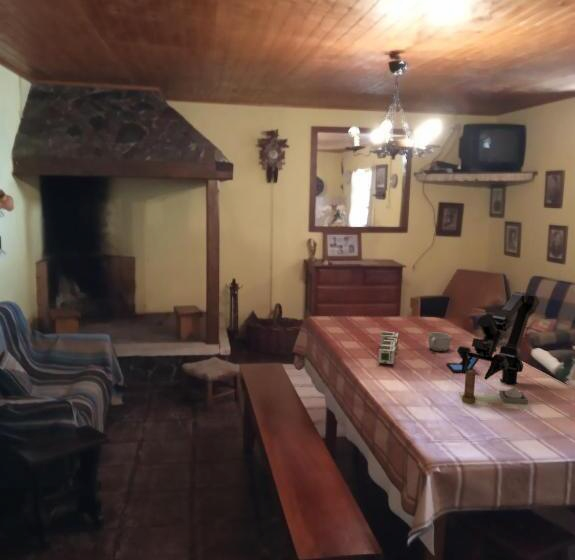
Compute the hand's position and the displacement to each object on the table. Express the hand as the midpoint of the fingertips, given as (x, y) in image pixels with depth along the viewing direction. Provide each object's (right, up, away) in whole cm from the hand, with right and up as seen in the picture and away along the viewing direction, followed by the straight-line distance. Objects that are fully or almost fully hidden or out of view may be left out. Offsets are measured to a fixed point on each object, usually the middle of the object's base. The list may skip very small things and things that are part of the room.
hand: (473, 375), depth 211 cm
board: (+8, -10, +1) cm, 13 cm away
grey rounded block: (+5, +1, +70) cm, 70 cm away
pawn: (-2, -9, 0) cm, 10 cm away
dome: (+16, -9, +2) cm, 19 cm away
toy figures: (-22, 0, +60) cm, 64 cm away
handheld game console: (+8, -4, +41) cm, 42 cm away
